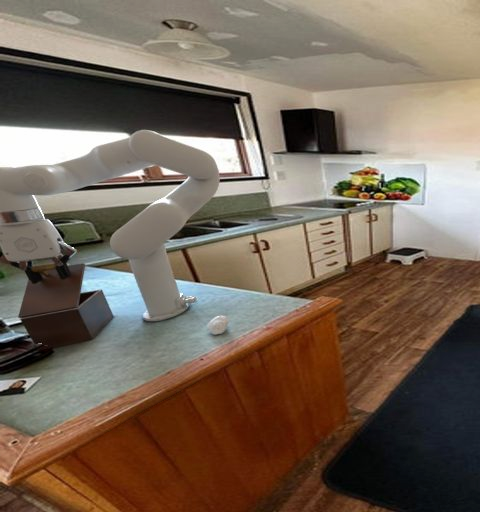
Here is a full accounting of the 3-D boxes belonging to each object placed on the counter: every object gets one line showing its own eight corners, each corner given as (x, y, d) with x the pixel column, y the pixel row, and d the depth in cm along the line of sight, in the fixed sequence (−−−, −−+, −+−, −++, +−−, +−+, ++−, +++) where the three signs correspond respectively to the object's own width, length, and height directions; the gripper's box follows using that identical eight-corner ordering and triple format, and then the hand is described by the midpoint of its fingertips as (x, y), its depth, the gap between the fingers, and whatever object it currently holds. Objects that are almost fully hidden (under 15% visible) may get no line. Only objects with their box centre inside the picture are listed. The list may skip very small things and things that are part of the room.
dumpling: (235, 327, 83) (232, 318, 81) (221, 339, 79) (217, 330, 77) (217, 320, 85) (214, 311, 83) (203, 332, 81) (199, 322, 79)
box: (68, 325, 87) (53, 297, 84) (114, 316, 92) (102, 289, 88) (38, 350, 76) (19, 319, 72) (92, 339, 80) (77, 308, 76)
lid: (32, 271, 78) (16, 262, 74) (85, 264, 83) (73, 255, 78) (20, 318, 72) (1, 311, 68) (78, 307, 76) (63, 300, 72)
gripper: (-42, 223, 64) (-2, 291, 71) (56, 215, 71) (84, 278, 77) (-15, 218, 71) (19, 281, 77) (72, 211, 77) (98, 269, 84)
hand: (52, 279), depth 77 cm, fingers closed on lid, 5 cm apart
